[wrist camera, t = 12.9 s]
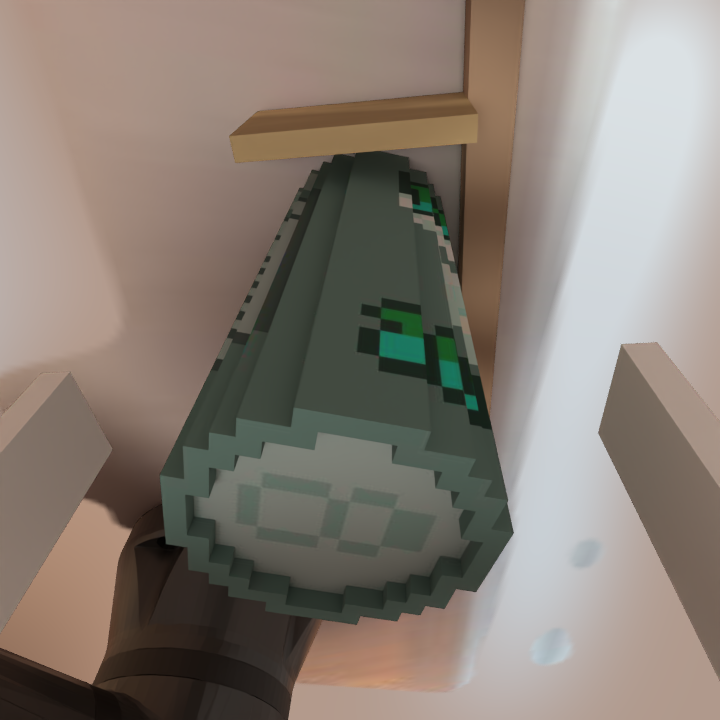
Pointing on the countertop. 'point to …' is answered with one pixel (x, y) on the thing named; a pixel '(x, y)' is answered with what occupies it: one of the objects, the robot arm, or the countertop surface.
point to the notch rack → (425, 129)
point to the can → (345, 415)
